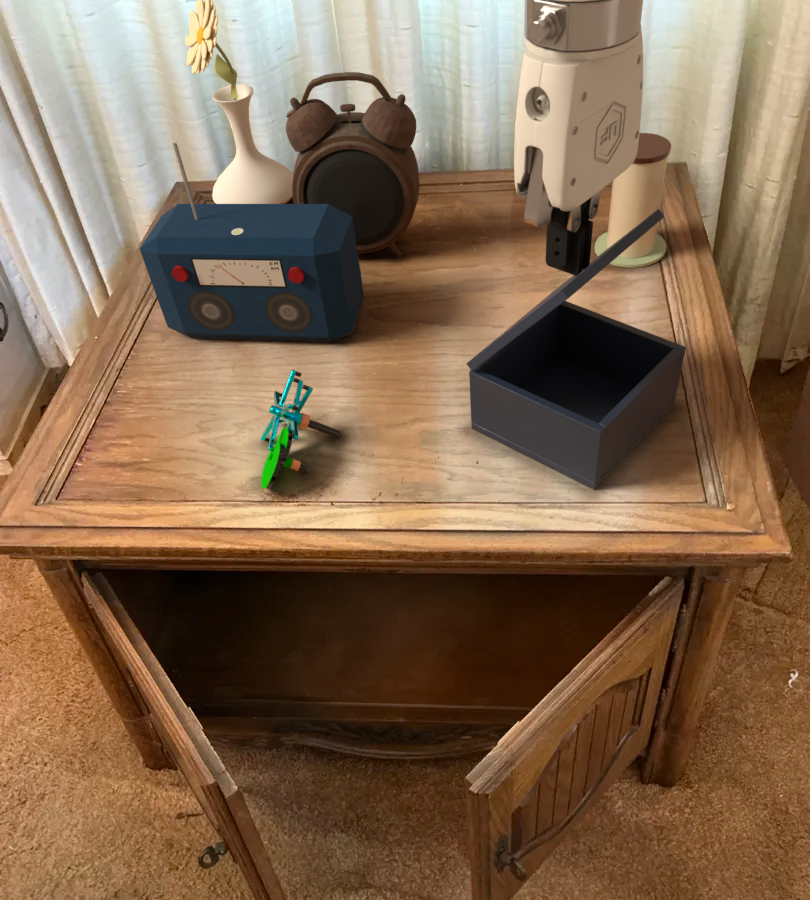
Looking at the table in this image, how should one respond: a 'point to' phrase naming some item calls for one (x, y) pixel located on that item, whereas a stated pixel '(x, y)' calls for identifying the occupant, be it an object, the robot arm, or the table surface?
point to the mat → (634, 262)
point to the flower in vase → (235, 123)
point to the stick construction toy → (288, 430)
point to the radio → (255, 270)
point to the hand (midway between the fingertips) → (567, 265)
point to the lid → (566, 289)
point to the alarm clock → (357, 161)
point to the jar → (639, 194)
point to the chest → (576, 391)
